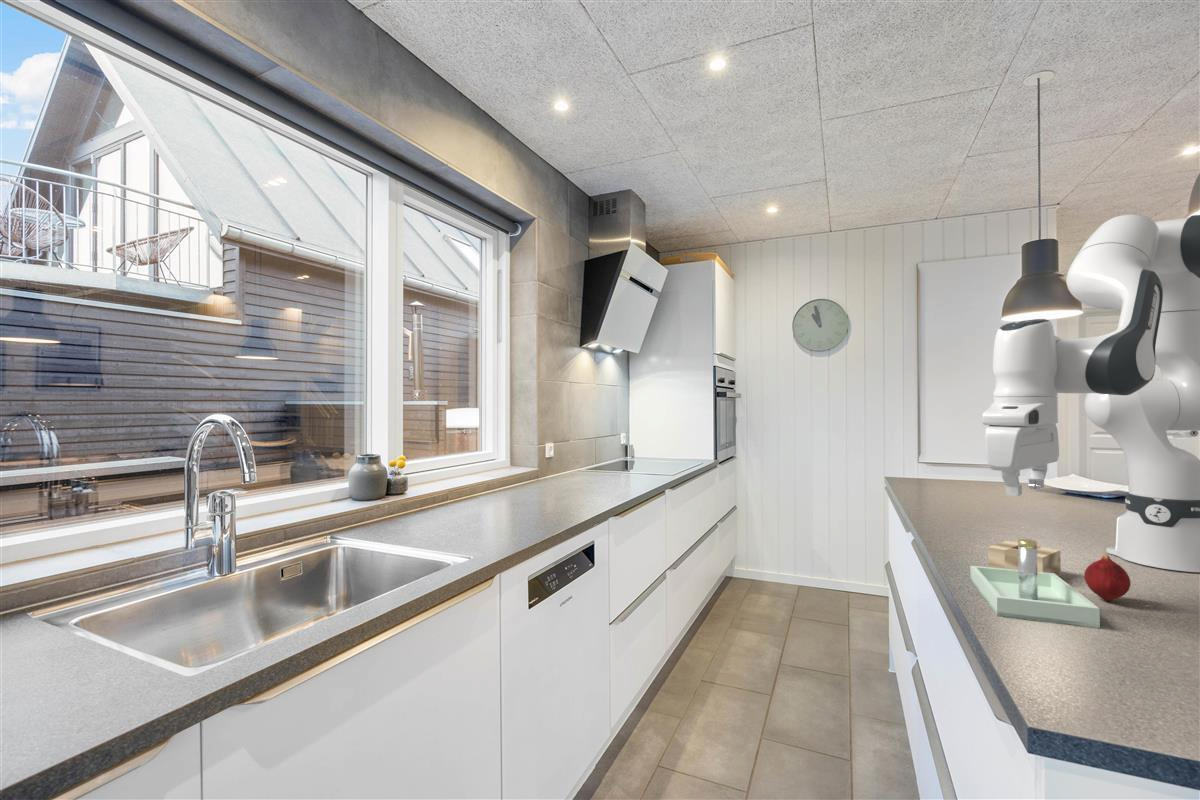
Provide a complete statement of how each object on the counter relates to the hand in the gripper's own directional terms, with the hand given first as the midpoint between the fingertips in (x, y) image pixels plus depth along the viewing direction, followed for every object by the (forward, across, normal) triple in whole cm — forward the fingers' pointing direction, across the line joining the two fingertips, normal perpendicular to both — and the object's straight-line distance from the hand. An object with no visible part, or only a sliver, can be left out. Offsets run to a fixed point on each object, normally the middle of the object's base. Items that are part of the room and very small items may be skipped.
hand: (1025, 492), depth 93 cm
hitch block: (+19, -17, -6) cm, 26 cm away
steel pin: (+18, 0, 0) cm, 18 cm away
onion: (+19, -11, +8) cm, 24 cm away
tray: (+19, +1, 0) cm, 19 cm away
